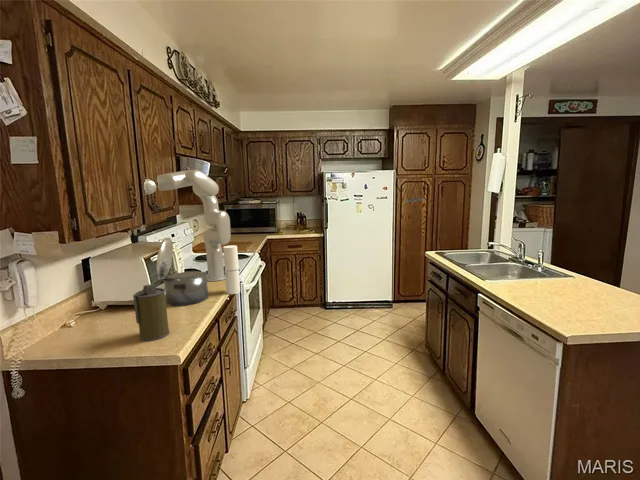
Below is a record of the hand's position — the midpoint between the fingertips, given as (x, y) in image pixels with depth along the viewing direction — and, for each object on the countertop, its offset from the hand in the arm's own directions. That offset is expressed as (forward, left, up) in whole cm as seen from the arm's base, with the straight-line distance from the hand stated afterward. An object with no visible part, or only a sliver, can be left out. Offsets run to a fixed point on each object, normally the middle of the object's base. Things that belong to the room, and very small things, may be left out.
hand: (134, 243), depth 163 cm
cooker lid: (0, +14, -8) cm, 16 cm away
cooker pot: (0, +22, -30) cm, 38 cm away
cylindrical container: (-7, +44, -31) cm, 54 cm away
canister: (+42, +20, -31) cm, 56 cm away
